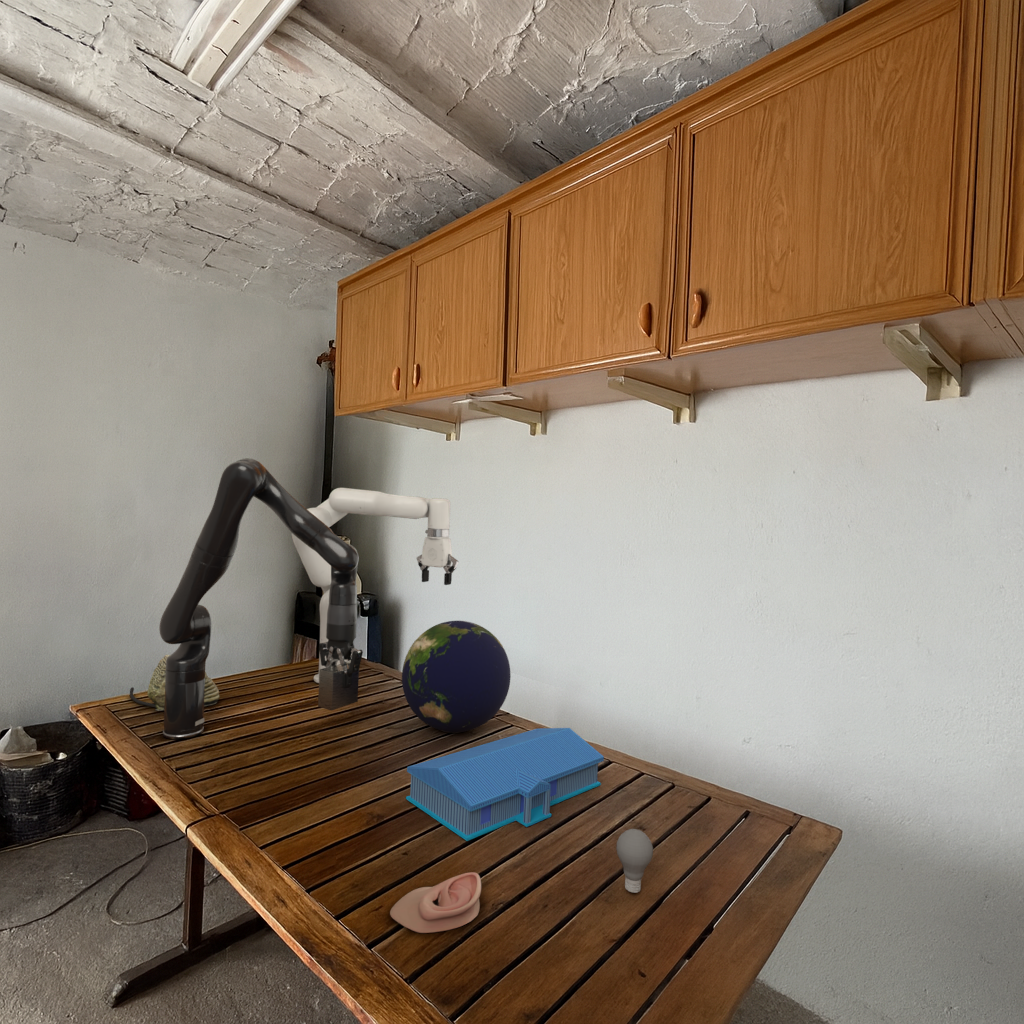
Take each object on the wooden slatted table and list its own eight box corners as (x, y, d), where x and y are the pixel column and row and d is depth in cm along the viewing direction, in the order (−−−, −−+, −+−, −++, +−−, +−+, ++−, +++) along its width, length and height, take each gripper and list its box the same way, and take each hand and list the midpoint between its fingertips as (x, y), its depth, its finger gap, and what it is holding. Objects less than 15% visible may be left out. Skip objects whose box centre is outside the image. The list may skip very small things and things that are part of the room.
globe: (377, 737, 168) (382, 624, 167) (433, 705, 195) (437, 608, 195) (480, 759, 156) (485, 638, 156) (523, 721, 184) (528, 619, 183)
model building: (477, 848, 116) (480, 794, 116) (404, 798, 134) (406, 751, 134) (612, 789, 143) (614, 745, 142) (536, 754, 161) (537, 715, 161)
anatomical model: (382, 899, 94) (410, 857, 105) (381, 926, 94) (409, 881, 105) (468, 915, 91) (487, 870, 103) (467, 942, 92) (486, 894, 103)
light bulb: (610, 879, 108) (613, 822, 108) (644, 879, 109) (647, 822, 109) (619, 902, 102) (622, 840, 102) (655, 901, 103) (658, 840, 103)
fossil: (144, 707, 182) (145, 655, 182) (212, 696, 194) (213, 647, 194) (151, 716, 175) (153, 662, 175) (221, 703, 188) (223, 653, 188)
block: (317, 706, 163) (319, 669, 163) (344, 698, 171) (345, 662, 170) (331, 710, 160) (333, 672, 160) (357, 701, 168) (359, 665, 168)
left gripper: (311, 618, 165) (308, 683, 166) (351, 626, 158) (348, 694, 158) (333, 615, 172) (330, 677, 172) (372, 622, 164) (369, 687, 165)
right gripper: (411, 532, 220) (409, 581, 221) (452, 535, 212) (450, 586, 212) (425, 532, 227) (423, 579, 227) (465, 535, 218) (462, 584, 219)
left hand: (338, 685), depth 165 cm, fingers closed on block, 5 cm apart
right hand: (436, 583), depth 220 cm, fingers open, 9 cm apart
